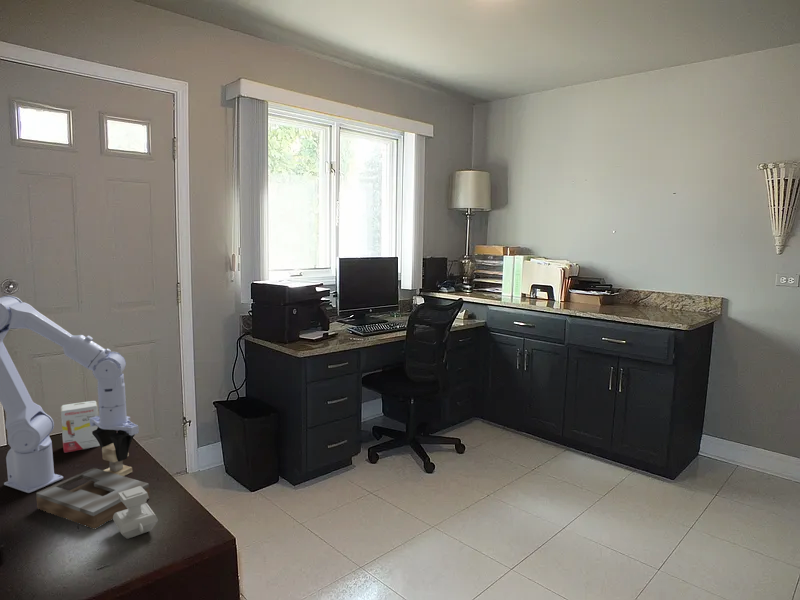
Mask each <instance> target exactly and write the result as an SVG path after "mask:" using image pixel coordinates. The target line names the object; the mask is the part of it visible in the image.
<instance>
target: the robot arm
mask: <svg viewBox="0 0 800 600" xmlns="http://www.w3.org/2000/svg"><path fill="white" fill-rule="evenodd" d="M11 329H13V330H16V329H19V330H20V329H22V330H23V329H25V330H26V329H27V330H30V331H31V332H33V333H36V334H38V335H39V336H41V337H42V338H45V339H46V340H49V341H50V342H53V343H54V344H56V345H58V346H60V347H62V351H63V355H64V356H66V357H67V358H69V359H71V360H73V361H74V362H75V363H77V364H79V365H81V366H82V367H84V368H86V369H87V370H89V371H92V375H93V378H95V379H96V380H97V398H98V399H97V403H98V416H95V417H92V418H90V426H95V425H96V426H98V428H97V430H94V431H92V434H93V435H94V437H95V438H96V439H97V441H98V442H99V444H100V446H99V447H100V449H101V450H102V447H104V446H107V445H109V444H112V443H113V444H114V447H115V451H116V457H117V460H118V461H119V462H120V461H122V460H123V461H125V460H127V459H128V457H129V456H128V451H129V450H130V446H131V443H132V442H133V439H134V437H135V435H137V434H139V433H140V430H139V425H138V424H135V422H132V421H131V416H128V414H127V400H126V399H127V397H126V383H125V374H124V371H125V369H126V366H127V361H126V359H125V357H124V356H123V355H121V353H120V352H117V351H112V350H111V349H110V348H108V347H107V348H104V347H103V346H101V345H100V344H98V343H96V342H95V341H93V340H94V338H93V337H92V336H91V335H87V336H85V335H84V334H77V335H74V334H71V332H69V331H67V330H66V329H65V328H63V327H62V326H60V325H59V324H57V323H56V322H55V321H53V320H51V319H50V318H48V317H47V316H45V315H44V314H43V313H41V312H39V311H38V310H37V309H36V308H34V306H32V305H31V304H29V303H28V302H25V301H24V302H23V301H22V300H21V299H20V298H19V297H17V296H14V295H4V296H0V404H1V406H2V408H3V410H4V411H5V414H6V419H5V425H4V427H5V429H6V430H7V443H8V445H9V447H10V449H9V450H8V451H7V454H6V457H5V461H6V470H7V481H5V482H3V486H7V487H10V488H12V489H15V490H18V491H21V492H24V493H27V494H30V493H33V492H35V491H38V490H40V489H42V488H44V487H46V486H49V485H52V484H54V483H56V482H58V481H61V480H63V479H64V476H63V475H61V474H57V473H55V468H54V465H55V464H54V454H53V443H52V439H51V437H50V434H51V433H52V432H53V430H54V428H55V422H54V421H55V420H54V419H53V418H52V417H51V415H49V414H47V413H46V412H45V411H44V409H43V408H42V406H41V405H40V404H37V403H36V402H34V401H33V398H32V397H31V395H30V393H29V391H28V388H27V387H26V384H25V383H24V381H23V379H22V377H21V375H20V373H19V371H18V368H17V366H16V365H15V363H14V362H13V359H12V357H11V355H10V353H9V352H8V348H6V346H5V343H4V339H5V338H6V336H7V334H8V333H9V331H10V330H11ZM127 456H128V457H127Z"/></svg>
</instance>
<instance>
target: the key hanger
mask: <svg viewBox="0 0 800 600" xmlns="http://www.w3.org/2000/svg"><path fill="white" fill-rule="evenodd" d="M129 456H130V453H129V451H128V456H127V458H128V457H129ZM101 457H102V460H104V461H108V462H109V467H108V468H106V469H103V470H104V471H107V472H110V473H114V474H117V475H121V476H124V477H126V476H127V475H129V474H131V473H133V467H132V466H130V465H129V466H128V465H125V464H124V463H123V462H124V460H122V461H120V462H119V461H118V460H117V457H116V451H115V447H114V444H113V443H112V444H109V445H107V446H104V447H102V449H101Z"/></svg>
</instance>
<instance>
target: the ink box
mask: <svg viewBox="0 0 800 600" xmlns="http://www.w3.org/2000/svg"><path fill="white" fill-rule="evenodd" d="M95 416H99V407H98V400H97V401H96V400H90V401H89V400H88V401H82V402H75V403H68V404H62V405H61V406H60V418H61V419H60V421H61V422H60V423H61V434H62V448H63V453H71V452H76V451H81V450H87V449H90V448H98V447H100V444H99V442H98V441H97V439H96V438H95V437H94V435H93V434H92V431H94V430H97V428H98V426H96V425H95V426H90V418H92V417H95Z"/></svg>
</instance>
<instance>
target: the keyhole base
mask: <svg viewBox="0 0 800 600" xmlns="http://www.w3.org/2000/svg"><path fill="white" fill-rule="evenodd" d="M104 470H105V469H100V468H99V469H98V468H97V467H92V468H89V469H88V470H85V471H83V472H81V473H78V474H76V475H74V476H71V477H68V478H66V479H64V480H62V481H61V482H60V481H59V482H58V483H55V484H53V485H52V486H49V487H46V488H45V489H42V490H39V491H37V492H35V497H36V509H37V510H39V509H40V511H42V510H43V512H45V511H46V512H45V513H48V514H50V513H51V515H53V514H54V516H56V515H57V516H56V517H59V518H62V517H63V518H62V519H64V518H67V519H69V520H68V521H70V520H72V521H71V522H73V521H74V522H73V523H76V522H77V523H76V524H78V523H80V524H79V525H81V524H82V526H84V525H86V526H85V527H87V526H88V528H89V527H91V528H90V529H92V528H94V529H93V530H96V529H98V528H100V527H101V526H103V525H105V524H106V523H105V522H107V521H109V520H110V521H112V520H113V515H114V513H116V512H119V511H122V510H125V509H127V507H126V506H125V505H124V504H123V502H122V501H121V500H120V499H119V495H118V493H119V492H122V491H125V490H129V489H132V488H135V487H138V486H141V487H142V488H143V489H144V490H145V491H146V492H147V493H148V496H149V498H148V499H149V500H150V497H151V496H150V483H148V482H145V481H141V480H138V479H134V478H131V477H127V476H121V475H117V474H114V473H110V472H107V471H104ZM81 479H84V480H86V481H87V480H88V481H87V482H85V483H83V484H81V485H78V486H77V487H74V488H72V489H70V490H68V489H64V487H66V486H68V485H71V484H72V483H75V482H77V481H79V480H81ZM148 499H147V501H148ZM67 519H66V520H67ZM111 519H112V520H111ZM110 521H109V522H110ZM104 523H105V524H104ZM107 523H108V522H107ZM102 524H103V525H102ZM100 525H101V526H100ZM99 526H100V527H99ZM97 527H98V528H97ZM95 528H96V529H95Z"/></svg>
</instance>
